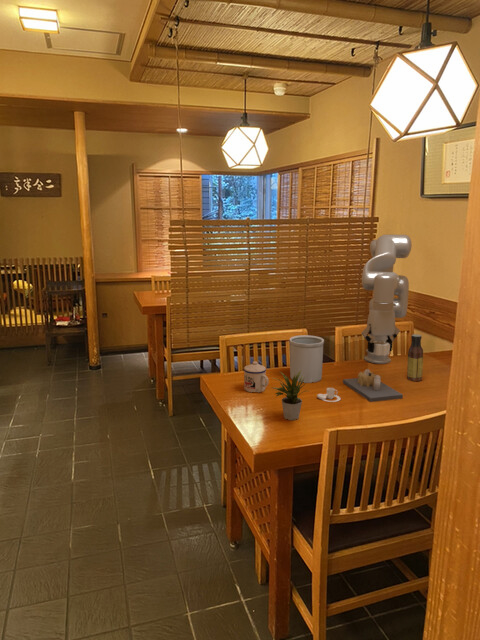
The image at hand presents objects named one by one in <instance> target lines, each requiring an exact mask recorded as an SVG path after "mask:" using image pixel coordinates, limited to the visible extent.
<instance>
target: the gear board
mask: <svg viewBox="0 0 480 640" xmlns="http://www.w3.org/2000/svg"><path fill="white" fill-rule="evenodd" d="M381 380H382V379H381V376H380V375H379V374H374V372H371V370H370V369H369V368H366V369H365V370H364V371H363V372H362V371H359V373H357V377H354V378H345V379H343V378H342V383H343V384H344V385H345V386H347V387H348V388H349V389H351V390H353V391H354V392H355V393H357V394H359V395H360V396H361V397H362V398H364V399H365V400H367V401H368V402H370V403H372V402H382V401H390V400H399V399H400V400H402V399H403V396H404V395H403V393H401V392H399V391H397V390H396V389H395V388H392V387H391V386H389V385H387V384H385V383H384V382H382V381H381Z"/></svg>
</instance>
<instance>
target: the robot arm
mask: <svg viewBox="0 0 480 640" xmlns="http://www.w3.org/2000/svg"><path fill="white" fill-rule="evenodd" d="M411 250H412V239H411V237H410V236H409V235H407V234H382V235H380V236H378V238H377V239H373V240H371V241H370V244H369V251H370V255H371V258H370V259H368V261H367V262H366V263H365V264H364V265H363V269H362V274H361V286H362V288H363V289H364V290H366V291H373V295H372V298H371V299H370V300H369V303H368V304H369V305H368V311H369V313H368V315H367V322H366V328H364V329H363V330H362V331H361V335H362V336H363V337H364V339H365V340H366V341H367V349H366V350H365V352H366V353H367V355H365V356H364V360H365V361H366V362H368V363H372V364H378V365H382V364H383V365H385V364H390V363H391V361H392V359H391V357H389V355H388V354H387V355H386V356H383V355H376V354H371V353H373V352H374V343H373V342H374V341H384V342H388V343H389V344H390V352H392V350H393V342H394V341H395V339H396V338H397V337H398V335H399V334H400V332H401V330H400V328H398V327H397V326H396V319H401V318H402V319H403V318H404V317H406V316H407V313H408V305H409V303H408V302H409V290H410V287H409V286H410V283H409V278H408V277H407V276H405V275H401V274H400V275H399V274H398V273H396V272H394V265H395V264H396V263H397V259H406V258H408V257H409V255H410V253H411ZM395 296H397V297H395Z"/></svg>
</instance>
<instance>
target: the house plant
mask: <svg viewBox="0 0 480 640" xmlns="http://www.w3.org/2000/svg"><path fill="white" fill-rule="evenodd" d="M300 372H301V371H300ZM300 372H298V374H297V376H296V377H295V375H294V377H293V379H291V381H290V378H289V377H288V376H287V375H285V374H284V373H283V372H282V371H279V373H280V374H281V375H282V377H283V378H284V380H285V381H284V382H285V383H286V384H285V383H284V382H283V381H282V380H281V379H280V378H279V379H278V378H275V377H274V378H273V380H275V381H276V382H279V383H280V384H279V385H281V387H272V389H273V390H275V391H277V392H275V395H276V396H275V398H277V397H279V396H283V398H281V405H282V412H283V413H282V414H283V418H284V419H285V420H287V419H288V421H296V419H297V420H299V418H300V412H301V409H302V404H303V399H301V398H300V397H299V396H300V395H301V394H303V393H305V392H307V390H304V391H301V389H302V388H303V387H304V386H305V385H306V384H307V383H304V384H303V381H304V379H303V380H302V382H301V379H302V377H301V378H300V380H299V382H297V381H298V378H299V376H300ZM302 376H303V375H302ZM300 391H301V393H300ZM308 392H310V393H311V391H310V390H308Z"/></svg>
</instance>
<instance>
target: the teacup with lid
mask: <svg viewBox="0 0 480 640" xmlns="http://www.w3.org/2000/svg"><path fill="white" fill-rule="evenodd" d="M266 372H267V369H266V367H265V366H264V365H262V364H259V363H258V361H252V363H250V364H248V365H245V366H244V367H243V373H244V375H243V376H244V377H243V378H244V380H243V382H244V383H243V384H244V385H243V388H244V391H246V392H249V393H252V392H258V393H261V392H264V391H265V390H266V387H268V385H269V382H270V381H269V378H268V376H267V375H266Z"/></svg>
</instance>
